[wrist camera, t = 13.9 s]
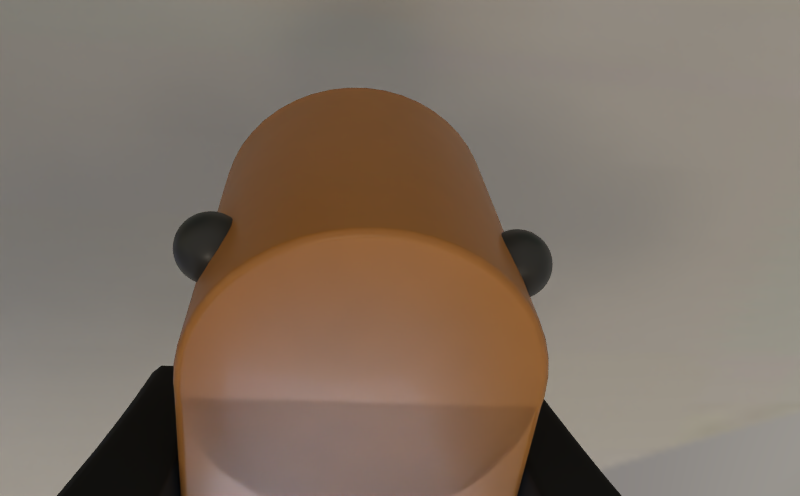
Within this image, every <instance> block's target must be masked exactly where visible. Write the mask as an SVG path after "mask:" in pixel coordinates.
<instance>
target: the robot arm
mask: <svg viewBox="0 0 800 496" xmlns="http://www.w3.org/2000/svg"><path fill="white" fill-rule="evenodd" d="M173 371H174V366H161V367H159V368H158V369H157V370H155V371H154V372H153V373H152V374H151V376H150V377H149V379H148V380H147V382H146V383H145V385H144V386H143V387H142V389H141V390H140V392H139V393H138V394H137V396H136V397H135V399H134V400H133V401H132V403H131V404H130V405H129V407H128V408H127V410H126V411H125V412H124V414H123V415H122V416H121V418H120V419H119V420H118V421H117V423H116V424H115V425H114V427H113V428H112V429H111V430H110V432H109V433H108V434H107V436H106V437H105V438H104V439H103V441H102V442H101V443H100V445H99V446H98V447H97V448H96V450H95V451H94V452H93V453H92V454H91V456H90V457H89V458H88V459H87V460H86V462H85V463H84V464H83V465H82V466H81V468H80V469H79V470H78V471H77V472H76V474H75V475H74V476H73V477H72V478H71V480H70V481H69V482H68V483H67V484H66V486H65V487H64V488H63V489H62V490H61V492H60V493H59V494H58V495H57V496H181V495H180V479H179V462H178V446H177V430H176V414H175V397H174V385H173ZM517 496H621V495H620V493H619V492H618V491H617V490H616V489H615V488H614V486H613V485H612V484H611V483H610V482H609V480H608V479H607V478H606V477H605V476H604V474H603V473H602V472H601V471H600V470H599V468H598V467H597V466H596V465H595V463H594V462H593V461H592V460H591V459H590V457H589V456H588V455H587V454H586V452H585V451H584V450H583V448H582V447H581V446H580V445H579V443H578V442H577V441H576V440H575V438H574V437H573V436H572V435H571V433H570V432H569V431H568V430H567V428H566V427H565V426H564V424H563V423H562V422H561V421H560V419H559V418H558V417H557V415H556V414H555V413H554V412H553V410H552V409H551V408H550V406H549V405H548V404H547V403H546V401H545V400H543V403H542V405H541V409H540V412H539V416H538V420H537V424H536V427H535V431H534V435H533V439H532V442H531V446H530V450H529V454H528V457H527V461H526V465H525V469H524V472H523V476H522V480H521V484H520V487H519V491H518V495H517Z"/></svg>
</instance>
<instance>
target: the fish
mask: <svg viewBox="0 0 800 496" xmlns="http://www.w3.org/2000/svg"><path fill="white" fill-rule="evenodd" d="M173 254H174V258H175V261H176V264H177V265H178V267H179V269H180V270H181V271H182V272H183V273H184V274H185V275H186V276H187V277H188V278H190V279H191V280H193V281H196V285H195V288H194V291H193V295H192V298H191V301H190V305H189V308H188V311H187V315H186V318H185V321H184V325H183V328H182V331H181V335H180V338H179V341H178V345H177V350H176V355H175V360H174V371H173V385H174V397H175V414H176V430H177V446H178V462H179V479H180V495H181V496H517V495H518V491H519V487H520V484H521V480H522V476H523V472H524V469H525V465H526V461H527V457H528V454H529V450H530V446H531V442H532V439H533V435H534V431H535V427H536V424H537V420H538V416H539V412H540V409H541V405H542V403H543V400H544V396H545V391H546V386H547V380H548V352H547V345H546V339H545V336H544V333H543V330H542V327H541V324H540V321H539V318H538V316H537V313H536V311H535V308H534V306H533V303H532V301H531V298H530V297H531V296H533V295H535V294H537V293H538V292H539V291H540V290H542V289H543V288H544V286H545V285H546V284H547V282H548V280H549V278H550V276H551V272H552V256H551V253H550V250H549V248H548V247H547V245H546V244H545V242H544V241H543V240H542V239H541V238H540V237H538V236H537V235H535V234H533V233H532V232H529V231H526V230H519V229H514V230H508V231H505V232H504V231H503V229H502V226H501V224H500V221H499V219H498V216H497V214H496V211H495V209H494V206H493V204H492V201H491V199H490V196H489V194H488V191H487V189H486V186H485V184H484V181H483V179H482V176H481V174H480V171H479V169H478V166H477V164H476V161H475V159H474V157H473V155H472V153H471V152H470V150H469V148H468V146H467V145H466V143H465V142H464V141H463V139H462V138H461V136H460V135H459V134H458V133H457V132H456V131H455V130H454V129H453V127H452V126H451V125H450V124H449V123H448V122H447V121H445V120H444V119H443V118H442V117H440V116H439V115H438V114H436V113H435V112H434V111H432V110H431V109H429V108H427V107H425V106H424V105H422V104H420V103H419V102H416V101H414V100H412V99H409V98H407V97H404V96H402V95H398V94H395V93H391V92H388V91H383V90H376V89H369V88H342V89H333V90H327V91H323V92H319V93H315V94H311V95H309V96H306V97H303V98H301V99H298V100H296V101H294V102H292V103H290V104H288V105H286V106H284V107H283V108H281V109H279V110H278V111H276V112H275V113H274V114H272V115H271V116H269V117H268V118H267V119H265V120H264V121H263V122H262V123H261V124H260V125H259V126H258V127H257V128H256V129H255V130H254V131H253V132H252V133H251V135H250V136H249V137H248V138H247V140H246V141H245V142H244V144H243V145H242V147H241V148H240V150H239V152H238V154H237V156H236V157H235V159H234V162H233V164H232V167H231V170H230V172H229V175H228V178H227V181H226V185H225V188H224V191H223V195H222V198H221V201H220V205H219V208H218V211H217V212H213V211H209V212H202V213H198V214H196V215H194V216H192V217H190V218H188V219H187V220H186V221H185V222H184V223H183V224H182V225H181V226H180V227H179V229H178V231H177V233H176V235H175V238H174V242H173Z"/></svg>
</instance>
